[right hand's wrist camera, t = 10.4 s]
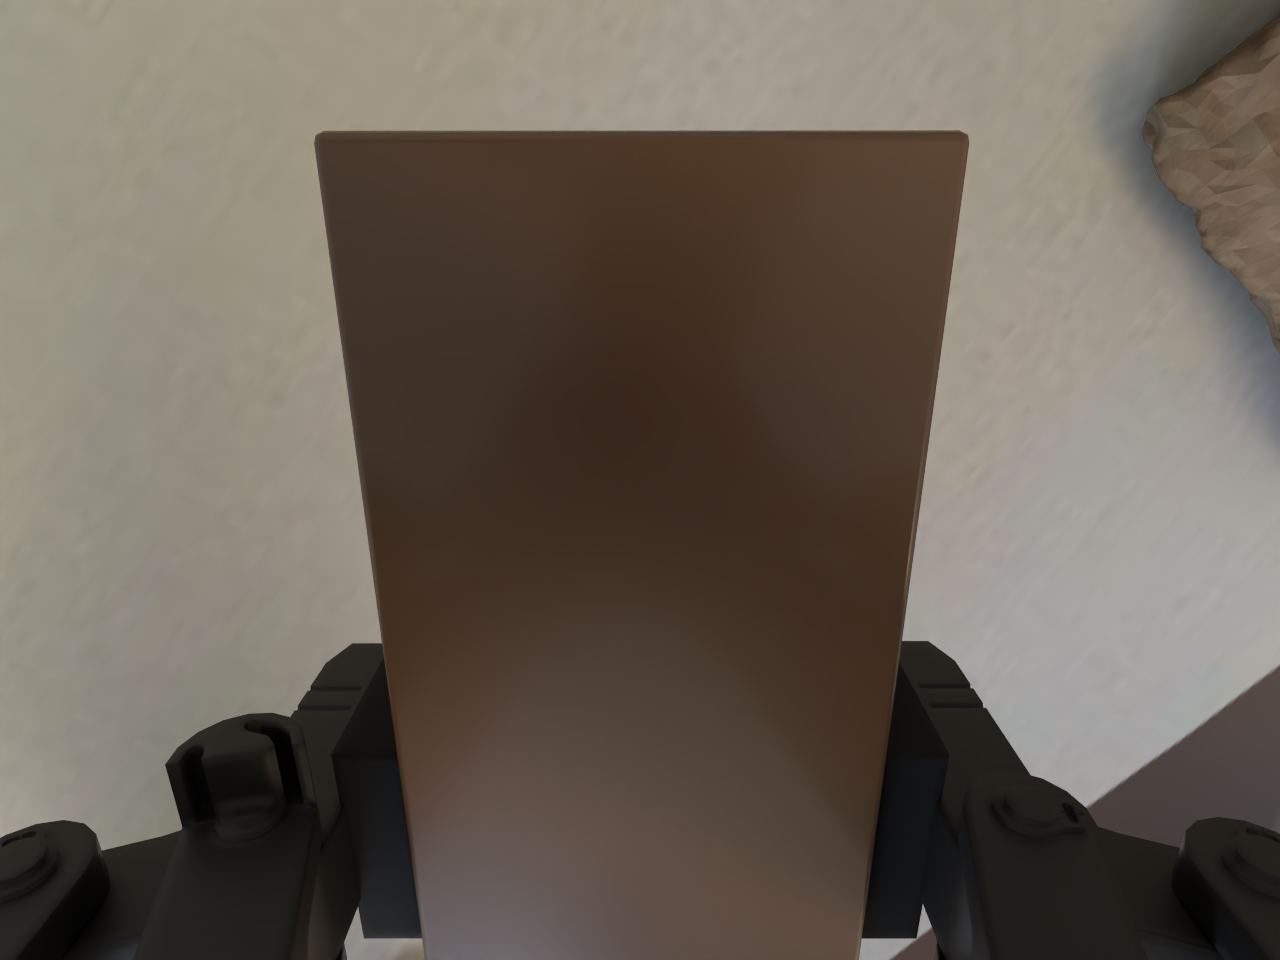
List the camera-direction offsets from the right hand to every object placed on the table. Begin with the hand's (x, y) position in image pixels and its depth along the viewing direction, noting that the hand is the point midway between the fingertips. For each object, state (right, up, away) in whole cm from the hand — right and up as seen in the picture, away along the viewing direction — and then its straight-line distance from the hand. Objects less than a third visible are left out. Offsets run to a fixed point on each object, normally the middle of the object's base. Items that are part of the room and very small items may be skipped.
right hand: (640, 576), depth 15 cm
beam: (0, -18, +7) cm, 19 cm away
